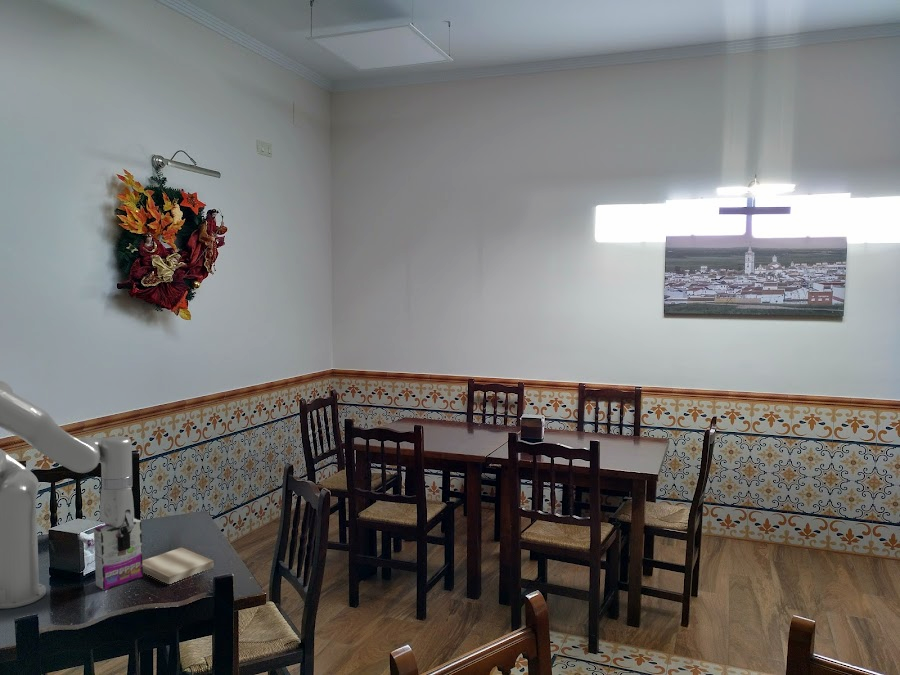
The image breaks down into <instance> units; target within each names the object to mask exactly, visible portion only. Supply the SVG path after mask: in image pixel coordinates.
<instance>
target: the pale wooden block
mask: <svg viewBox="0 0 900 675" xmlns="http://www.w3.org/2000/svg"><path fill="white" fill-rule="evenodd" d="M214 562H215V560H213V559H210V558H209V557H206V556H205V555H204V556H203V555H201V554H198V553H197V552H194V551H192V550H190V549H187V548H184V547H182V546H181V547H178V548H176V549H172V550H170V551H167V552H163V553H160V554H158V555H155V556H152V557H149V558H146V559H142V563H143V574H144V573H145V574H144V575H146V574H147V575H146V576H148V575H150V576H152V577H154V578H156V579H158V580H160V581H162V582H165V583H167V584H172V583H174V582H177V581H179V580H182V579H184V578H187V577H189V576H192V575H194V574H197V573H200V572H202V571H205V570H208V569H211V568H213V567H214V566H215V564H214ZM214 568H215V567H214ZM150 576H149V577H150ZM152 577H151V578H152ZM154 578H153V579H154ZM156 579H155V580H156ZM158 580H157V581H158ZM160 581H159V582H160ZM162 582H161V583H162Z"/></svg>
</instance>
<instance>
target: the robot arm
mask: <svg viewBox="0 0 900 675" xmlns="http://www.w3.org/2000/svg"><path fill="white" fill-rule="evenodd" d="M0 428H2V429H4V430H5V431H7V432H8V433H11V434H13V436H17V437H18V438H19V439H22V441H24V442H26V443H27V444H28V445H29V446H31V447H32V448H33V449H35V450H37V451H38V452H39V453H41V455H44V456H45V457H47V458H48V459H49V460H51V461H52V462H55V463H56V464H58V465H60V466H62V467H64V468H66V469H68V470H70V471H72V472H75V473H80V474H85V473H89V472H92V471H93V470H94V469H96V468H97V467H98V465H99V463H100V466H101V467H100V468H101V471H100V472H101V473H100V474H101V490H100V497H99V520H100V521H101V522H102V523H104V525H107V524H108V525H110V526H113V527H116V528H118V532H119V537H118V551H123V550H126V549H129V548H130V535H131V531H132V529H133V528H134V523H133V521H134V518H135V507H134V496H133V491H132V489H133V488H132V487H133V454H132V453H133V450H132V448H133V446H132V445H133V444H132V440H131V438H129V437H127V436H124V435H123V436H120V435H119V436H117V435H116V436H115V435H114V436H110V437H94V436H93V437H92V436H85V437H80V438H77V437H76V436H74V435H72V434H70V433H69V432H67V431H66V430H64V429H63V428H62V427H60V426H59V425H58V424H57V423H56V421H55V420H54V419H53V417H52V416H51V414H50V413H48V412H47V411H45V410H44V409H42V408H41V407H39V406H37V405H35V404H34V403H32V402H29V401H28V400H27V399H25V398H23V397H21V396H19V395H17V394H16V393H14V392H13V389H12V387H11V386H10V385H9V383H7V382H6V381H3V380H0ZM39 489H40V485H39V480H38V478H37V476H36V475H35V474H34V473H33V472H32V471H31V470H30V469H28V468H27V467H26V466H25V465H23V464H22V463H20V462H19V461H18V460H17V459H15V458H14V457H13V456H12V455H10V454H9V453H7V452H6V451H5V450H3V449H2V448H0V610H2V609H5V610H6V609H13V608H21V607H24V606H27V605H30V604H33V603H35V602H37V601H39V600H40V599H41V598H43V597H44V596H45V595H46V593H47V588H46V586H45V585H44V584H42V583H40V582H39V581H40V580H39V577H40V576H39V574H40V572H39V548H38V547H39V545H38V544H39V543H38V541H39V540H38V522H37V497H38V493H39ZM123 522H126V524H123ZM125 526H126V528H124V530H123V531H122V527H125Z"/></svg>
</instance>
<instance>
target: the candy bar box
mask: <svg viewBox="0 0 900 675" xmlns="http://www.w3.org/2000/svg"><path fill="white" fill-rule="evenodd" d="M133 523H134V528H133V529H132V531H131V535H130V548H129V549H126V550H123V551H118V537H119V532H118V528H116V527H113V526H110V525H108V524H107V525H105V524H103V525H100V526H96V527H93V541H94V544H93V545H94V546H93V547H94V570H95V571H94V572H95V586H96V587H97V588H99V589H101V590H103V591H107V590H110V589H113V588H115V587H119V586H122V585H124V584H126V583H129V581H130V582H132V581H135V580H138V579H140V578H143V577H144V573H143V563H142V560H143V537H142V520H140V519H138V518H136V517H134V521H133ZM123 524H126V522H123ZM124 528H126V526H125V527H122V531H123V530H124Z"/></svg>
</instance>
